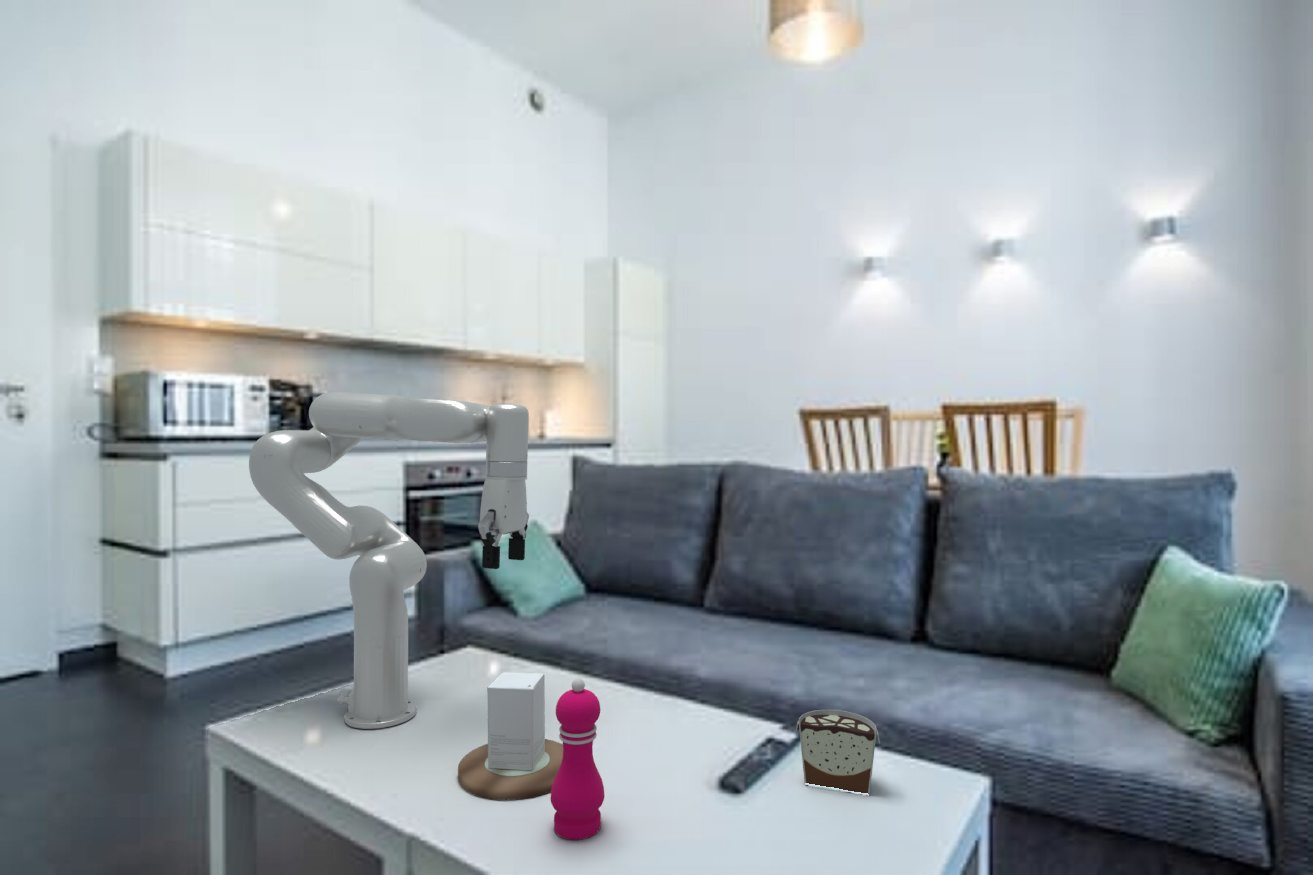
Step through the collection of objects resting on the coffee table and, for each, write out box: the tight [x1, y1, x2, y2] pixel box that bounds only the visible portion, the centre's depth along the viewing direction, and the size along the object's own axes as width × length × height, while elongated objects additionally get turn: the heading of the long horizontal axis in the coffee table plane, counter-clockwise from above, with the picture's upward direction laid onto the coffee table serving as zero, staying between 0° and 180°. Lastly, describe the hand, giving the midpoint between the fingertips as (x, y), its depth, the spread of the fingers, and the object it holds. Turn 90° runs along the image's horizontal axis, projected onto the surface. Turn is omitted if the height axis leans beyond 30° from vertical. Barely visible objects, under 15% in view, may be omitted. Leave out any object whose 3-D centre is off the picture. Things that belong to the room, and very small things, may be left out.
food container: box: [795, 709, 881, 795], centre depth 109 cm, size 12×6×10 cm, turn 71°
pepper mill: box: [550, 677, 605, 841], centre depth 96 cm, size 7×7×20 cm
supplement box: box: [486, 671, 546, 770], centre depth 112 cm, size 7×7×13 cm
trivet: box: [457, 738, 563, 801], centre depth 112 cm, size 18×18×2 cm
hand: (504, 563), depth 132 cm, fingers open, 9 cm apart
